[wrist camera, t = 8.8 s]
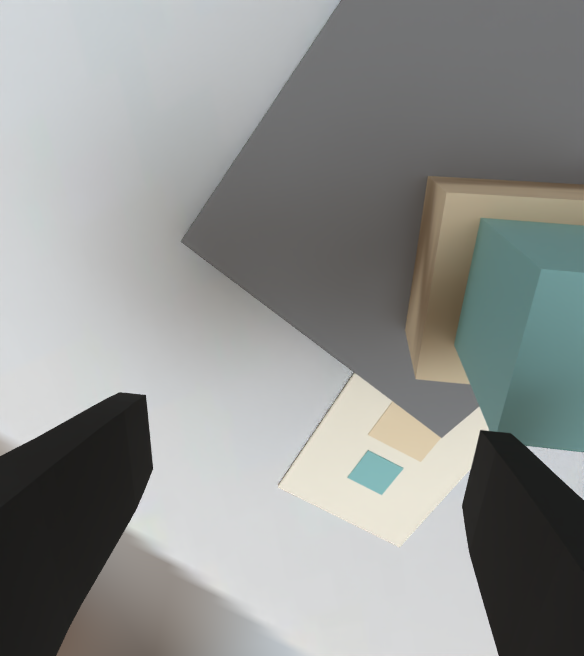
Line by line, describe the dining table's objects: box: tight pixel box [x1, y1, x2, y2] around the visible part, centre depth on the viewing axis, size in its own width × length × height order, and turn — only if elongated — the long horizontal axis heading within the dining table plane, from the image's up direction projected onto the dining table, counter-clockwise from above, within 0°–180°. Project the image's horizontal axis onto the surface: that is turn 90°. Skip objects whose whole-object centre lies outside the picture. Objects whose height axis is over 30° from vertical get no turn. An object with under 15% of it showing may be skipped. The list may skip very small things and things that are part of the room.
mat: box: [181, 0, 584, 438], centre depth 17 cm, size 20×14×1 cm
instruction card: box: [278, 373, 489, 547], centre depth 22 cm, size 10×7×1 cm
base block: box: [405, 176, 584, 384], centre depth 16 cm, size 6×6×4 cm
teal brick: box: [454, 218, 584, 452], centre depth 12 cm, size 4×4×5 cm
